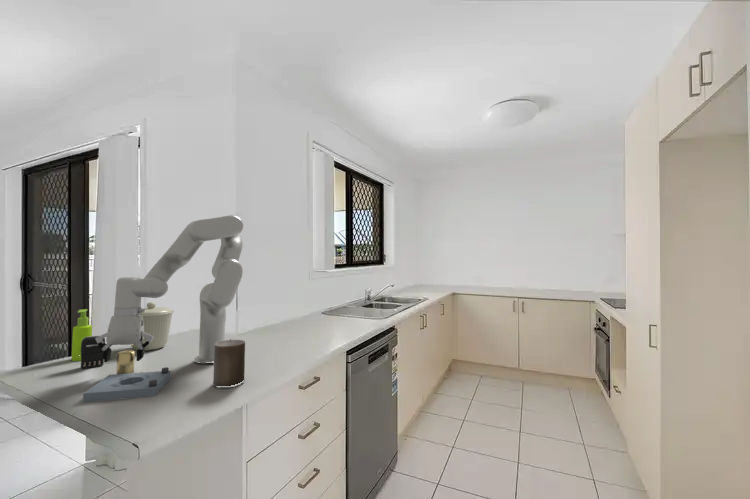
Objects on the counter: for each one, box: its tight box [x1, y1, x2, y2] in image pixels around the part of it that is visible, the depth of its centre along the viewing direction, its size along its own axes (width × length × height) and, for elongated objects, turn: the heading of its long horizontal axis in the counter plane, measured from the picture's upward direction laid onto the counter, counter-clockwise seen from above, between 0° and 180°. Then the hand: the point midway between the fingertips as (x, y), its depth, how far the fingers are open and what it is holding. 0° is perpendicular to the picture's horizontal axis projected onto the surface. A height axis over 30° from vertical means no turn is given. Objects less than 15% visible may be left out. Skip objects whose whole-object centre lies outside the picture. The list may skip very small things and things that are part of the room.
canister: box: [130, 301, 175, 352], centre depth 152 cm, size 18×18×21 cm
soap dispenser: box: [70, 308, 93, 362], centre depth 134 cm, size 6×7×20 cm
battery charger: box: [80, 335, 106, 369], centre depth 125 cm, size 7×4×11 cm, turn 126°
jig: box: [82, 366, 172, 403], centre depth 106 cm, size 18×16×4 cm
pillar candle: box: [212, 338, 246, 386], centre depth 112 cm, size 10×10×15 cm
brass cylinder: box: [115, 349, 136, 374], centre depth 118 cm, size 5×5×8 cm
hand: (123, 360), depth 118 cm, fingers open, 9 cm apart
